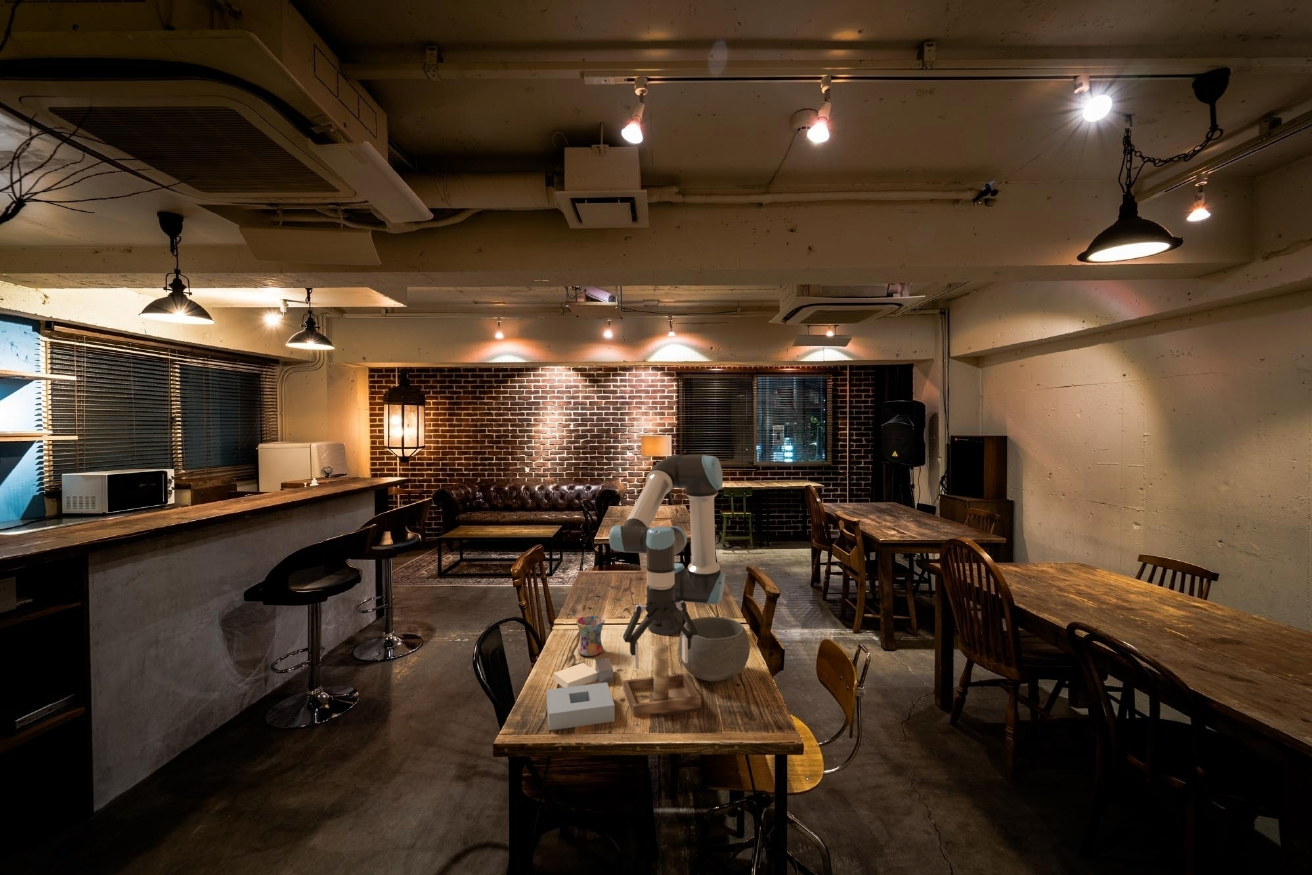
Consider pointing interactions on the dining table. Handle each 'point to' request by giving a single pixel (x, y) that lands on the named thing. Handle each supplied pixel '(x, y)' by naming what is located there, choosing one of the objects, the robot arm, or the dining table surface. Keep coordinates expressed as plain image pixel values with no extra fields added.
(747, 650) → the bowl
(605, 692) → the dowel block
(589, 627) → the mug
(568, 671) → the cream rectangular block
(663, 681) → the dowel
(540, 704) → the dining table surface
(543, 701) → the dining table surface
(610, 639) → the dining table surface
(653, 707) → the tray
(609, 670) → the block
